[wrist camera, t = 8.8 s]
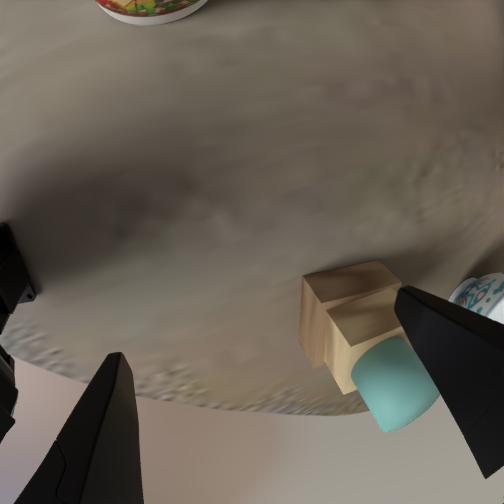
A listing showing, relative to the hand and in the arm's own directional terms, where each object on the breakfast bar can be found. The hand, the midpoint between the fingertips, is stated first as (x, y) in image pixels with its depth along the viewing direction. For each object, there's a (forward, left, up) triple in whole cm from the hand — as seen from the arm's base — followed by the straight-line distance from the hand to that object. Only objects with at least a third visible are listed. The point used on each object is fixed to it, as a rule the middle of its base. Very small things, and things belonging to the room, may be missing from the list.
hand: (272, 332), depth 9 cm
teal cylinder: (+10, -12, -5) cm, 16 cm away
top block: (+10, -12, -9) cm, 18 cm away
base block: (+10, -12, -13) cm, 20 cm away
